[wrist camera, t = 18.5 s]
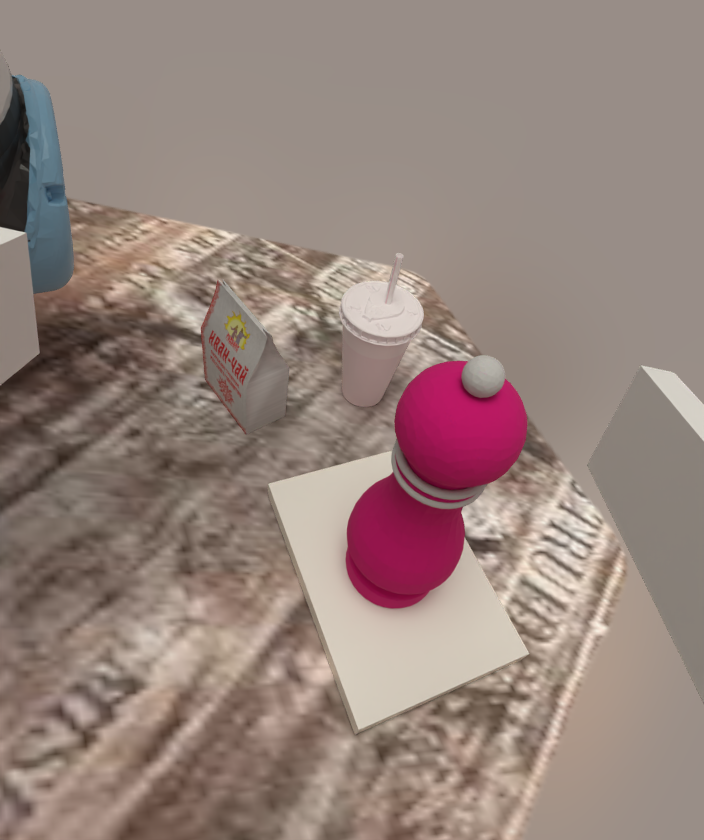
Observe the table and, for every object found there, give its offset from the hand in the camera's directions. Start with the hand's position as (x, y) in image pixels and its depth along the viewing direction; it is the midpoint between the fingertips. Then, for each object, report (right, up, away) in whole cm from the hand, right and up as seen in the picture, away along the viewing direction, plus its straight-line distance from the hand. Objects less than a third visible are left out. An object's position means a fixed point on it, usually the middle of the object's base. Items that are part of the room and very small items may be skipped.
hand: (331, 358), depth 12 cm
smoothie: (+1, +1, +38) cm, 38 cm away
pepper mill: (+3, -11, +26) cm, 29 cm away
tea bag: (-9, 0, +35) cm, 36 cm away
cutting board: (+3, -12, +27) cm, 30 cm away
